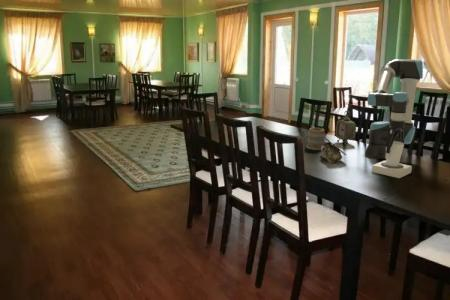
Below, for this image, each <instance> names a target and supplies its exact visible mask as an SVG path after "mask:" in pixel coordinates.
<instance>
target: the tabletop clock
mask: <svg viewBox="0 0 450 300" xmlns="http://www.w3.org/2000/svg"><path fill="white" fill-rule="evenodd" d="M346 112H347V113H348V114H346ZM343 114H344V117H343V119H338V120H336V125H335V137H336V138H337V140H336V142H337V143H339V142H340V140H342V141H344V145H345V146H346V145H347V144H348V143H349V140H350V141H351V140H352V141H353V140H354V139H355V138H356V132H357V124H356V123H355V122H354V121H353V120H351V118H350V111H348V110H345V111H344V113H343Z"/></svg>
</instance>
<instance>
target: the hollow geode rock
mask: <svg viewBox="0 0 450 300" xmlns="http://www.w3.org/2000/svg"><path fill="white" fill-rule="evenodd" d="M324 140H325V142H324V143H323V144H322V145H321V150H320V151H321V158H322V159H324V158H325V159H326V160H327V162H328V163H329V164H335V163H340V161H341V160H342V159H343V156H342V154H343V155H344V156H348V154H346V152H344V151H343V150H342V149H341V148H340V147H339V146H337V145H335V144H334V143H333V142H331V141H330V140H329V138H327V137H324Z"/></svg>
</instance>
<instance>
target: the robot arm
mask: <svg viewBox="0 0 450 300" xmlns="http://www.w3.org/2000/svg"><path fill="white" fill-rule="evenodd" d="M423 77H424V63H423V61H422V60H421V59H415V58H414V59H403V58H402V59H399V58H397V59H392V60H389V61H388V62H386V63H385V64H384V65H383V66H382V67H381V69H380V71H379V77H378V80H377V84H376V86H375V89H374V90H373V92H370V93H368V96H367V105H368V106H373V107H387V108H391V112H390V120H389V121H374V122H371V124H370V128H369V137H368V145H367V146H366V149H365V151H364V156H365V157H367V158H369V159H374V160H375V159H376V160H386V159H391V151H392V148H391V146H392V144H393V142H394V141H397V142H402V143H404V145H409V144H411V143H412V141H413V139H414V136H415V131H416V126H414V122H413V121H412V118H413V112H414V103H415V99H416V98H415V96H416V89H417V84H418V83H420V81H421V80H422V79H423ZM394 78H399V81H400V83H401V89H400V91H395V92H393V93H388V92H389V90H390V88H391V84H392V81H393V79H394ZM386 147H387V148H386Z"/></svg>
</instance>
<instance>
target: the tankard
mask: <svg viewBox="0 0 450 300" xmlns="http://www.w3.org/2000/svg"><path fill="white" fill-rule="evenodd" d="M307 135H308V138H307V142H308V143H307V144H306V145H305V147H306V149H307V150H312V151H321V145H322V144H323V143H324V142H326V140H325V138H326V137H325V136H326V133H325V129H324V128H320V127H315V125H314V124H311V126H310V128H309V129H308V131H307ZM324 137H325V138H324Z"/></svg>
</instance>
